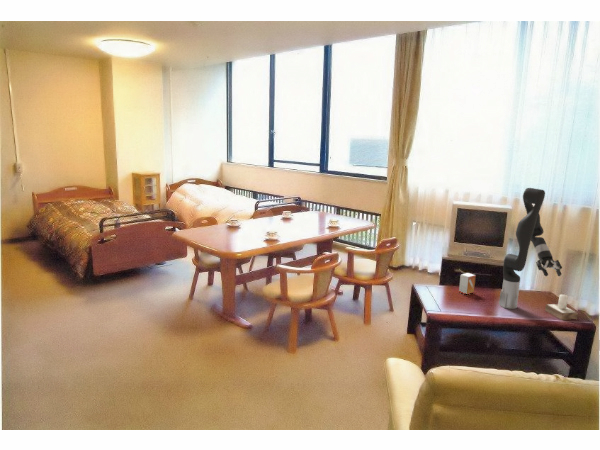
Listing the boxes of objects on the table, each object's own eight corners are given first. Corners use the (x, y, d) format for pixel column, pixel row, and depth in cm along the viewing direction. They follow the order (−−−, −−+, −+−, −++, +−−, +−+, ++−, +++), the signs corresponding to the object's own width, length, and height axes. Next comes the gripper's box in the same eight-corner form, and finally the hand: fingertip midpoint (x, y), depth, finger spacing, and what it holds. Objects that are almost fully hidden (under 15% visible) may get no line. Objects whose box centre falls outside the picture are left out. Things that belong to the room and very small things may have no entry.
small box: (466, 295, 286) (468, 276, 284) (458, 292, 292) (460, 274, 289) (474, 293, 291) (475, 275, 288) (465, 290, 296) (467, 272, 293)
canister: (561, 309, 253) (563, 296, 252) (555, 306, 258) (557, 294, 256) (567, 309, 254) (569, 296, 252) (562, 306, 258) (564, 294, 257)
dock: (561, 319, 249) (562, 313, 248) (545, 310, 263) (546, 304, 262) (577, 319, 250) (578, 312, 249) (560, 310, 264) (561, 303, 263)
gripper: (536, 249, 268) (546, 272, 259) (557, 249, 269) (567, 272, 260) (529, 255, 274) (539, 278, 265) (550, 255, 276) (560, 278, 266)
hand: (553, 275), depth 263 cm, fingers open, 8 cm apart
